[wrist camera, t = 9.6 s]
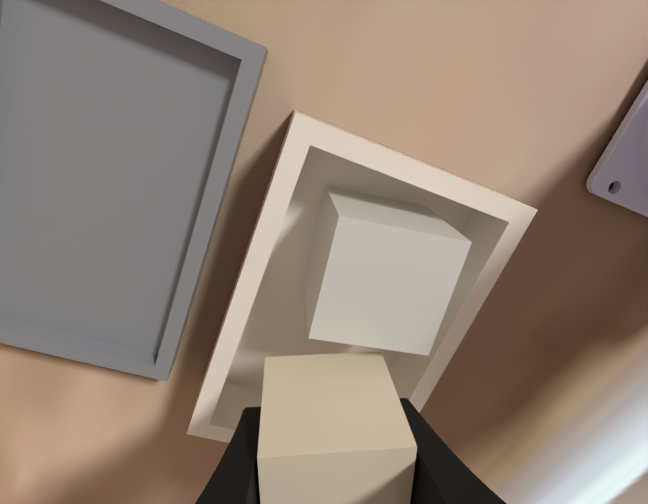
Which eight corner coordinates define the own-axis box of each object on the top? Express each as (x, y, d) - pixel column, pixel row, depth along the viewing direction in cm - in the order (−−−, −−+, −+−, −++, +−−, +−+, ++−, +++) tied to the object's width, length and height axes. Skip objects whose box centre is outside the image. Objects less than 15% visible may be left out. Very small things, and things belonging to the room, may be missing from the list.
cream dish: (493, 189, 15) (538, 209, 13) (369, 420, 19) (383, 474, 17) (293, 109, 14) (295, 112, 11) (202, 381, 18) (186, 434, 15)
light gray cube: (426, 206, 15) (472, 242, 11) (396, 297, 16) (428, 355, 13) (325, 185, 14) (339, 215, 11) (303, 281, 16) (308, 338, 12)
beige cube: (381, 351, 14) (417, 446, 10) (374, 438, 15) (403, 549, 11) (265, 356, 13) (257, 458, 9) (270, 445, 15) (264, 563, 11)
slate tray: (268, 51, 13) (266, 47, 12) (174, 363, 17) (166, 381, 16) (-3, -65, 11) (-35, -83, 10) (-35, 312, 15) (-60, 329, 14)
